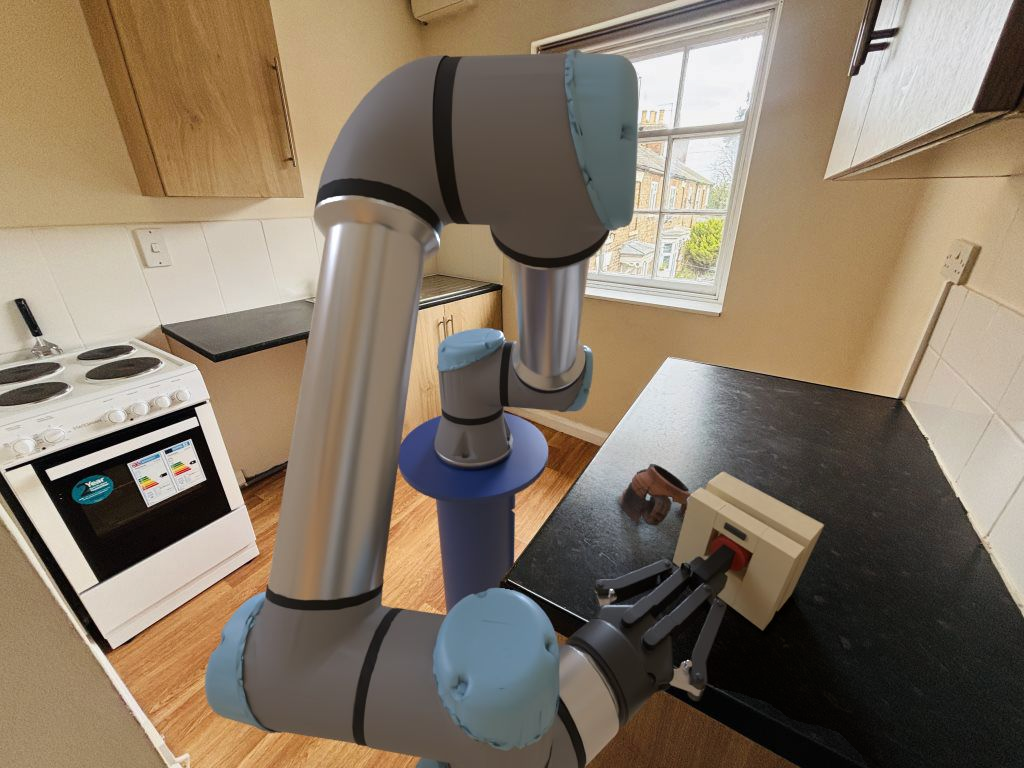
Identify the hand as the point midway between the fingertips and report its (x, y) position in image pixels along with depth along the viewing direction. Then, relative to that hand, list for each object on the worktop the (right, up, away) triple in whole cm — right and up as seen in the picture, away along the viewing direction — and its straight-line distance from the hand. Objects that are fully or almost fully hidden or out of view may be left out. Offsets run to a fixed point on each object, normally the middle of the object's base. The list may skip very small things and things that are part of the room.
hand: (726, 556), depth 48 cm
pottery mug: (-3, 0, +16) cm, 16 cm away
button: (+2, -1, +2) cm, 3 cm away
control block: (+3, -5, +5) cm, 8 cm away
